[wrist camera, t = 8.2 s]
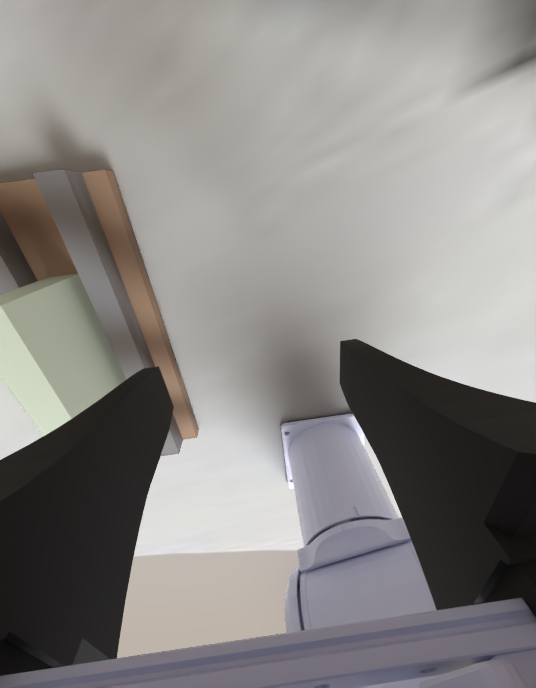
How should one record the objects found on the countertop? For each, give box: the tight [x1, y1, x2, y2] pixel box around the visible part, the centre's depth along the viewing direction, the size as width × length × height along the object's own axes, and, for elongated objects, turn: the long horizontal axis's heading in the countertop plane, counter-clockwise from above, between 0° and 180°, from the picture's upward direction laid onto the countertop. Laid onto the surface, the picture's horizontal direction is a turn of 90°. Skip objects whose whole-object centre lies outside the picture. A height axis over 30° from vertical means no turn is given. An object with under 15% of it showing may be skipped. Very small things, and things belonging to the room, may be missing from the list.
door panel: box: [0, 274, 126, 436], centre depth 16 cm, size 10×2×6 cm, turn 6°
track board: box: [0, 169, 199, 456], centre depth 18 cm, size 20×9×2 cm, turn 6°
